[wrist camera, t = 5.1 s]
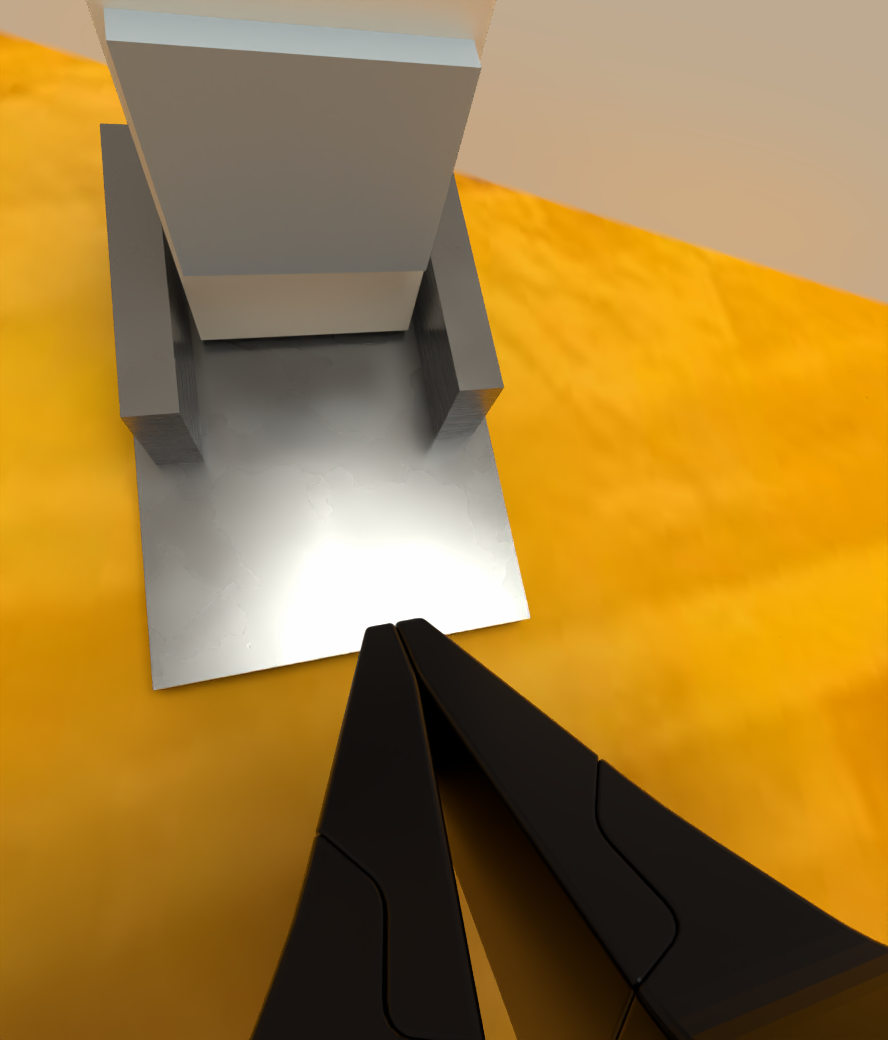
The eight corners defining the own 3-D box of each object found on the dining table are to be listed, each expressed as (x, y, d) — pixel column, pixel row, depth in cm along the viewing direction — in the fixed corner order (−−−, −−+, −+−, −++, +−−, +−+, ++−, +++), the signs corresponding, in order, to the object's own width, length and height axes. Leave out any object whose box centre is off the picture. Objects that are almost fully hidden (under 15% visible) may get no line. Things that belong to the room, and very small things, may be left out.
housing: (518, 621, 17) (575, 605, 14) (163, 689, 15) (111, 693, 11) (434, 237, 20) (461, 137, 17) (127, 239, 18) (77, 122, 14)
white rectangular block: (411, 347, 17) (588, -258, 6) (203, 359, 16) (-70, -414, 5) (388, 231, 18) (504, -479, 7) (189, 232, 17) (-66, -670, 6)
